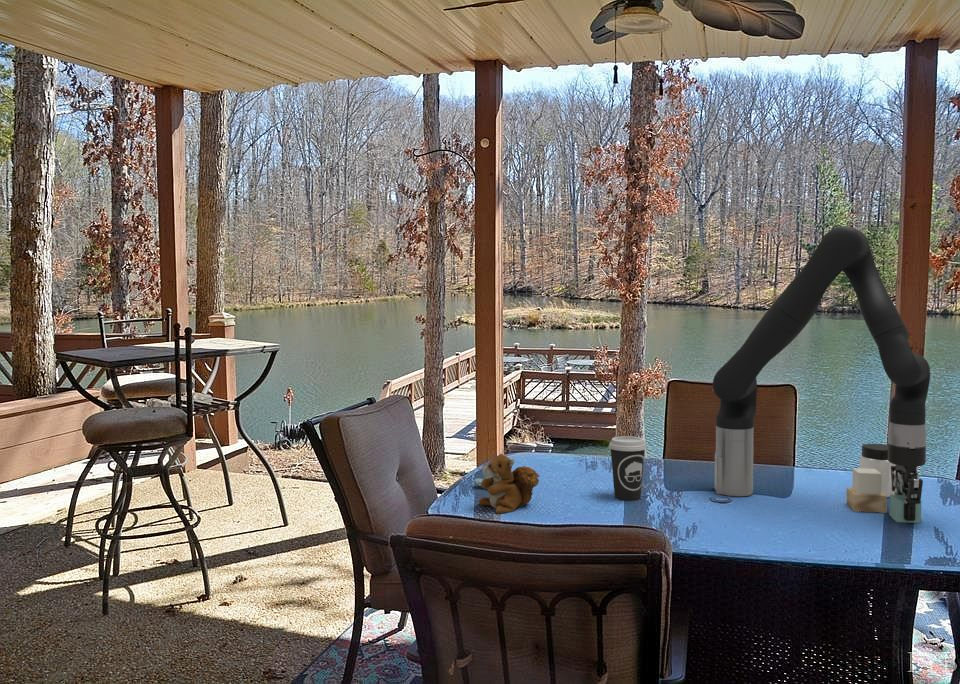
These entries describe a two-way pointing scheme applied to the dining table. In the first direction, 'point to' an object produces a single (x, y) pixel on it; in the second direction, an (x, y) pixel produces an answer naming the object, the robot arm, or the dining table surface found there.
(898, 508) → the teal cube
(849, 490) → the base block
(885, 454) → the jar
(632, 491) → the coffee cup
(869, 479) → the cream cube
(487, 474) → the pacifier
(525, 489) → the stuffed squirrel
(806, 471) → the dining table surface
